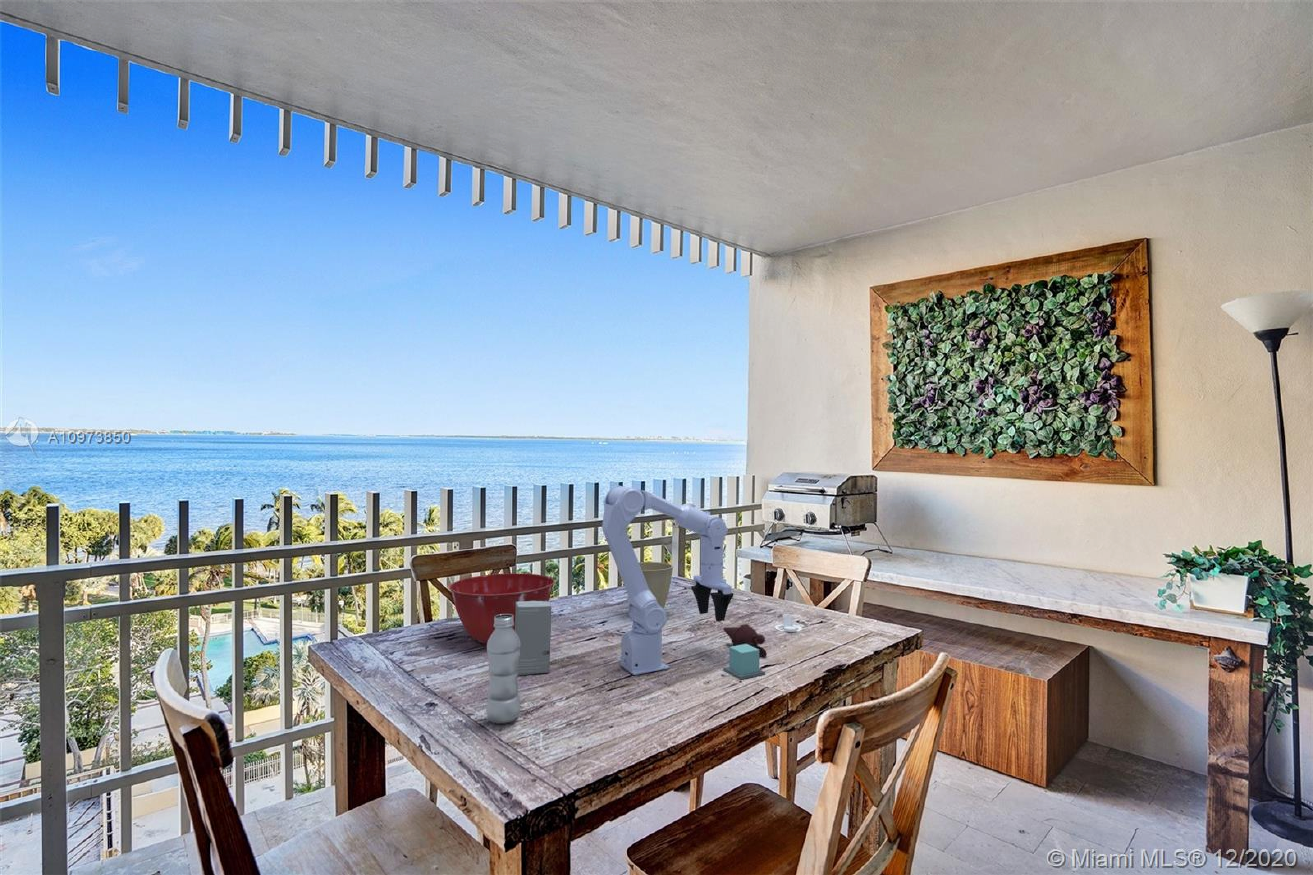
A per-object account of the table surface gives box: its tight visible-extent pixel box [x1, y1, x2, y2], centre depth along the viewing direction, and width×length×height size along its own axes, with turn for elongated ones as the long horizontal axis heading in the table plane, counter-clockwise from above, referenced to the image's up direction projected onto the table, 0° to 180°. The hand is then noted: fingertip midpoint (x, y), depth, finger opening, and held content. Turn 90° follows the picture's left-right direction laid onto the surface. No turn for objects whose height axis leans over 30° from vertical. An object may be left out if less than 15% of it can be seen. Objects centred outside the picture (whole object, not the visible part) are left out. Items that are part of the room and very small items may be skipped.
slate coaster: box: [722, 666, 766, 681], centre depth 143 cm, size 7×7×1 cm
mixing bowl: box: [448, 572, 556, 645], centre depth 169 cm, size 28×28×16 cm
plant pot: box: [638, 561, 674, 610], centre depth 191 cm, size 15×15×16 cm
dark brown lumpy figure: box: [723, 623, 767, 658], centre depth 159 cm, size 7×8×15 cm
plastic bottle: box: [485, 614, 521, 725], centre depth 118 cm, size 6×7×20 cm
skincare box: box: [515, 600, 552, 677], centre depth 145 cm, size 8×7×16 cm
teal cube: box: [728, 644, 760, 675], centre depth 143 cm, size 5×5×5 cm
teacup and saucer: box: [774, 613, 803, 633], centre depth 179 cm, size 9×8×4 cm
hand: (711, 616), depth 155 cm, fingers open, 7 cm apart
